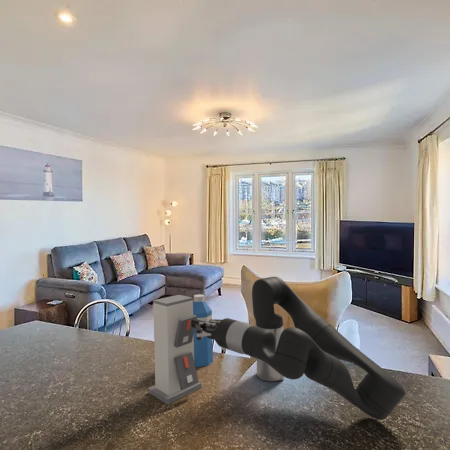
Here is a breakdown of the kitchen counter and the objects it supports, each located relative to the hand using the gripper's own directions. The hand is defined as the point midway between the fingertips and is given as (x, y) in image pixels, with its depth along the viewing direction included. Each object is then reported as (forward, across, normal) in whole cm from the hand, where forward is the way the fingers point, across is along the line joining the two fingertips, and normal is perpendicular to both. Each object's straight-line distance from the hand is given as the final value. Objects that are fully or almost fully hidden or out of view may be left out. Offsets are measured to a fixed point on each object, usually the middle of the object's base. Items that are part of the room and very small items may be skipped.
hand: (193, 322), depth 97 cm
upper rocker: (+5, 0, -8) cm, 9 cm away
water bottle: (+20, +20, -23) cm, 36 cm away
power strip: (+10, 0, -23) cm, 25 cm away
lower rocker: (+2, 0, -19) cm, 20 cm away
